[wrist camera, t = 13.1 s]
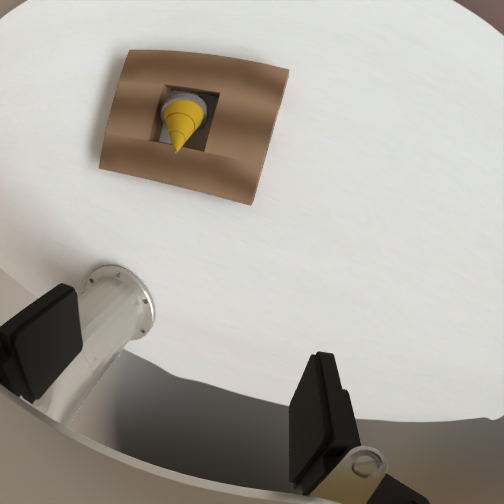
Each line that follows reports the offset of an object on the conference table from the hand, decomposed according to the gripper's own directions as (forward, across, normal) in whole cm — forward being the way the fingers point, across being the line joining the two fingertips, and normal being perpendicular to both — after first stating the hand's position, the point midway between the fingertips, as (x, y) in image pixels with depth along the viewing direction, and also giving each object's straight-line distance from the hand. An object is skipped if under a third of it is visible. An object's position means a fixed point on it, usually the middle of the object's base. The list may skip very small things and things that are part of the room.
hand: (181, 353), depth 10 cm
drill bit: (+26, +9, -10) cm, 30 cm away
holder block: (+26, +9, -11) cm, 30 cm away
